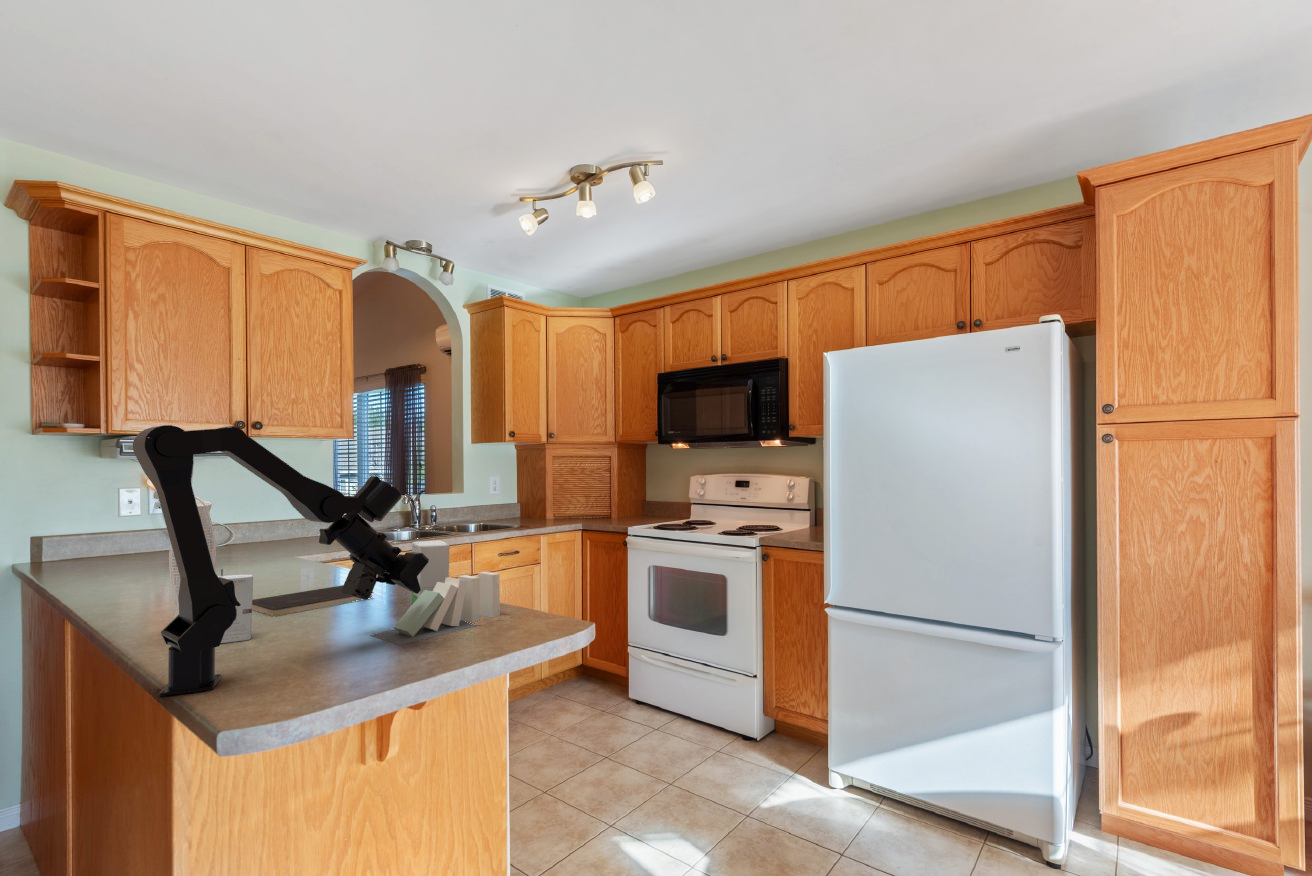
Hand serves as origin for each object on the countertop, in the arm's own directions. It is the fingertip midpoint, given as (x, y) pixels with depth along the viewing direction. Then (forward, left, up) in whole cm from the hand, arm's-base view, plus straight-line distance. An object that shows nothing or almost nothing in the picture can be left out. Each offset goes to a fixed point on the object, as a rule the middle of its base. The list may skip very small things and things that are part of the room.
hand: (418, 591), depth 126 cm
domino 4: (+5, -10, -8) cm, 14 cm away
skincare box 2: (+19, -3, -8) cm, 21 cm away
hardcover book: (+43, +23, -9) cm, 49 cm away
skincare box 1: (+12, +33, -8) cm, 36 cm away
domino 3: (+3, -6, -8) cm, 10 cm away
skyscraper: (+19, +41, -8) cm, 46 cm away
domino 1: (-1, +3, -7) cm, 8 cm away
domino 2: (+1, -2, -7) cm, 8 cm away
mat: (+3, -5, -8) cm, 10 cm away
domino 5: (+8, -15, -8) cm, 18 cm away
